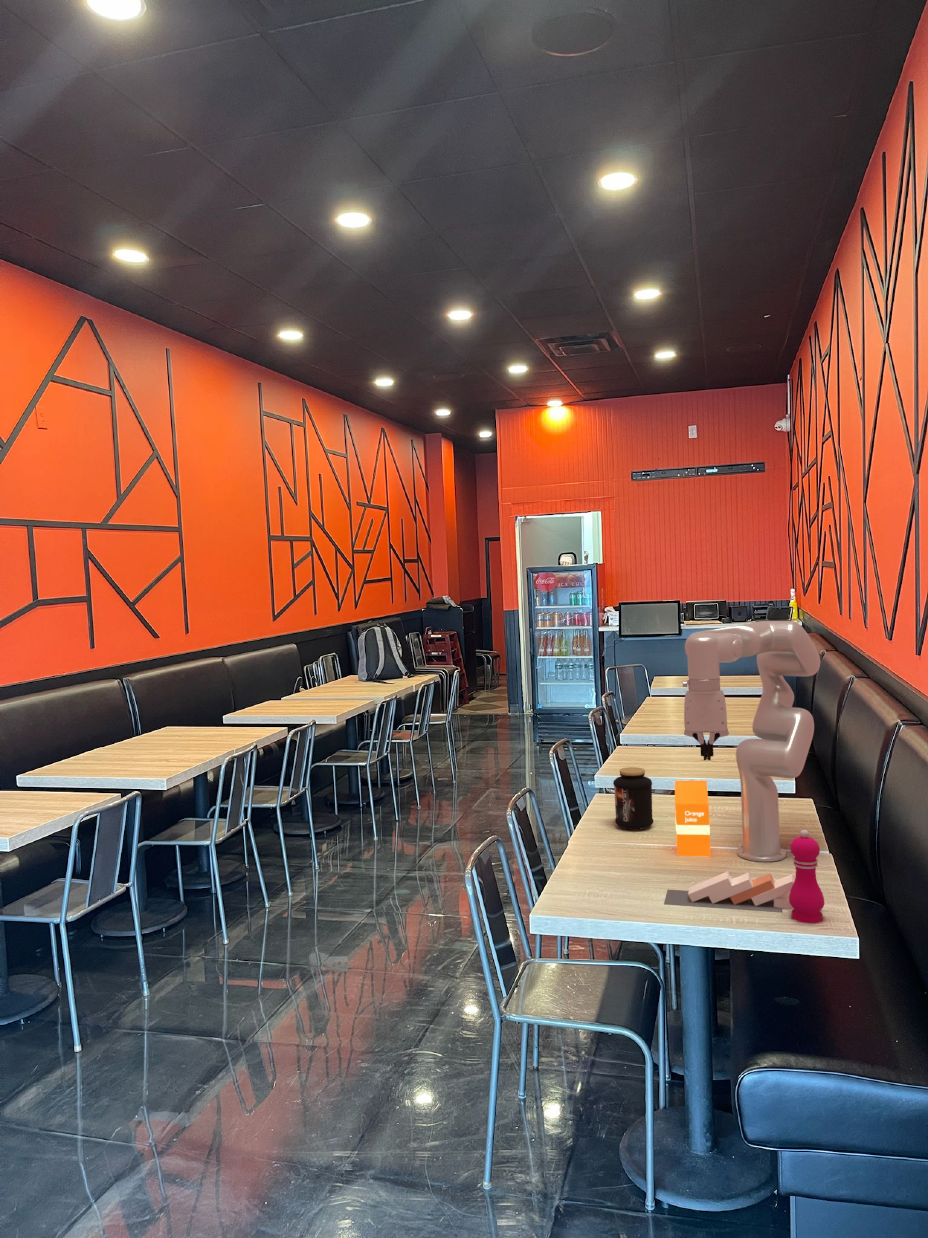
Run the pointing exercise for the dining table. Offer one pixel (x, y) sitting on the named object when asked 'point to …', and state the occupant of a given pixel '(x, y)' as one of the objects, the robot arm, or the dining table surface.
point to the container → (633, 799)
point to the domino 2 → (733, 888)
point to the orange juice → (692, 818)
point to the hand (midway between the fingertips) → (707, 759)
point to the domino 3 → (755, 889)
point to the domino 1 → (710, 886)
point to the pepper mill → (806, 880)
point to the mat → (684, 900)
